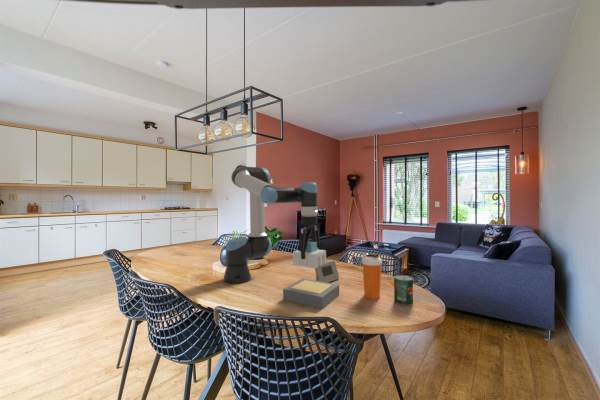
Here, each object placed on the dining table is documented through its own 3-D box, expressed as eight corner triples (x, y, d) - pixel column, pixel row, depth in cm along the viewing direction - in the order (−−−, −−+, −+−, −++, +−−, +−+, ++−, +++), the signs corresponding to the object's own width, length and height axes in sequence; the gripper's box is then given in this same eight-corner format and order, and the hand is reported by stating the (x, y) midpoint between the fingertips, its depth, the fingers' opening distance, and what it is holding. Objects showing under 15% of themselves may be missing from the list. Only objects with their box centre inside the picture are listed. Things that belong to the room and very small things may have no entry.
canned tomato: (392, 298, 124) (392, 274, 124) (410, 298, 123) (409, 274, 123) (396, 305, 116) (396, 280, 116) (415, 306, 115) (415, 280, 115)
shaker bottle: (378, 301, 121) (378, 256, 120) (359, 297, 126) (359, 254, 125) (384, 295, 128) (384, 253, 128) (365, 291, 133) (365, 251, 133)
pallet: (293, 264, 125) (293, 251, 125) (304, 260, 134) (304, 248, 134) (316, 268, 119) (316, 254, 119) (326, 263, 128) (325, 250, 128)
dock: (283, 299, 124) (283, 288, 124) (303, 287, 139) (302, 277, 139) (322, 308, 114) (322, 296, 114) (339, 295, 129) (339, 284, 129)
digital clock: (319, 286, 142) (319, 266, 142) (310, 281, 149) (309, 262, 149) (343, 280, 150) (343, 261, 150) (333, 276, 158) (332, 258, 158)
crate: (302, 251, 126) (301, 242, 126) (307, 249, 130) (307, 241, 130) (311, 252, 123) (311, 243, 123) (316, 250, 127) (316, 242, 127)
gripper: (304, 217, 114) (304, 270, 115) (327, 214, 134) (327, 259, 134) (289, 217, 118) (290, 267, 119) (313, 213, 138) (314, 257, 138)
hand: (310, 263), depth 126 cm, fingers closed on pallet, 10 cm apart
